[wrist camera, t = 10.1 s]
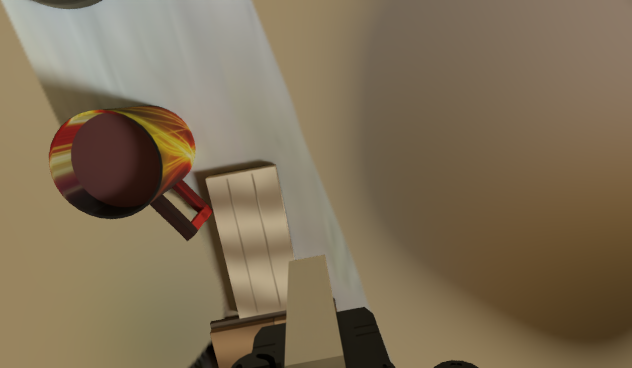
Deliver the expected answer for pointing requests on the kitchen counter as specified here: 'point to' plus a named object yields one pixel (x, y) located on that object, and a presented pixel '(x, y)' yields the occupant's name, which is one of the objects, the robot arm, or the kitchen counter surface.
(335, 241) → the kitchen counter surface
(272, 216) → the plank
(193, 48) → the kitchen counter surface
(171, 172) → the mug
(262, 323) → the floorboard
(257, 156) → the kitchen counter surface
